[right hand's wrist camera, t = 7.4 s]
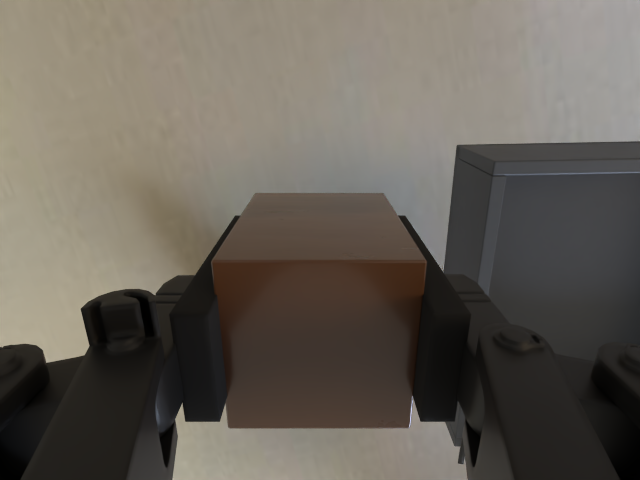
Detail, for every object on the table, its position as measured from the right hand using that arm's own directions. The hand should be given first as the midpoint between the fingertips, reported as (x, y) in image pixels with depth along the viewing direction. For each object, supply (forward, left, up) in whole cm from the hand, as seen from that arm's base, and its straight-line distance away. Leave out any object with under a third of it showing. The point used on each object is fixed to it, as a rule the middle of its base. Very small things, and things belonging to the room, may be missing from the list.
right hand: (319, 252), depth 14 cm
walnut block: (0, 0, 0) cm, 0 cm away
